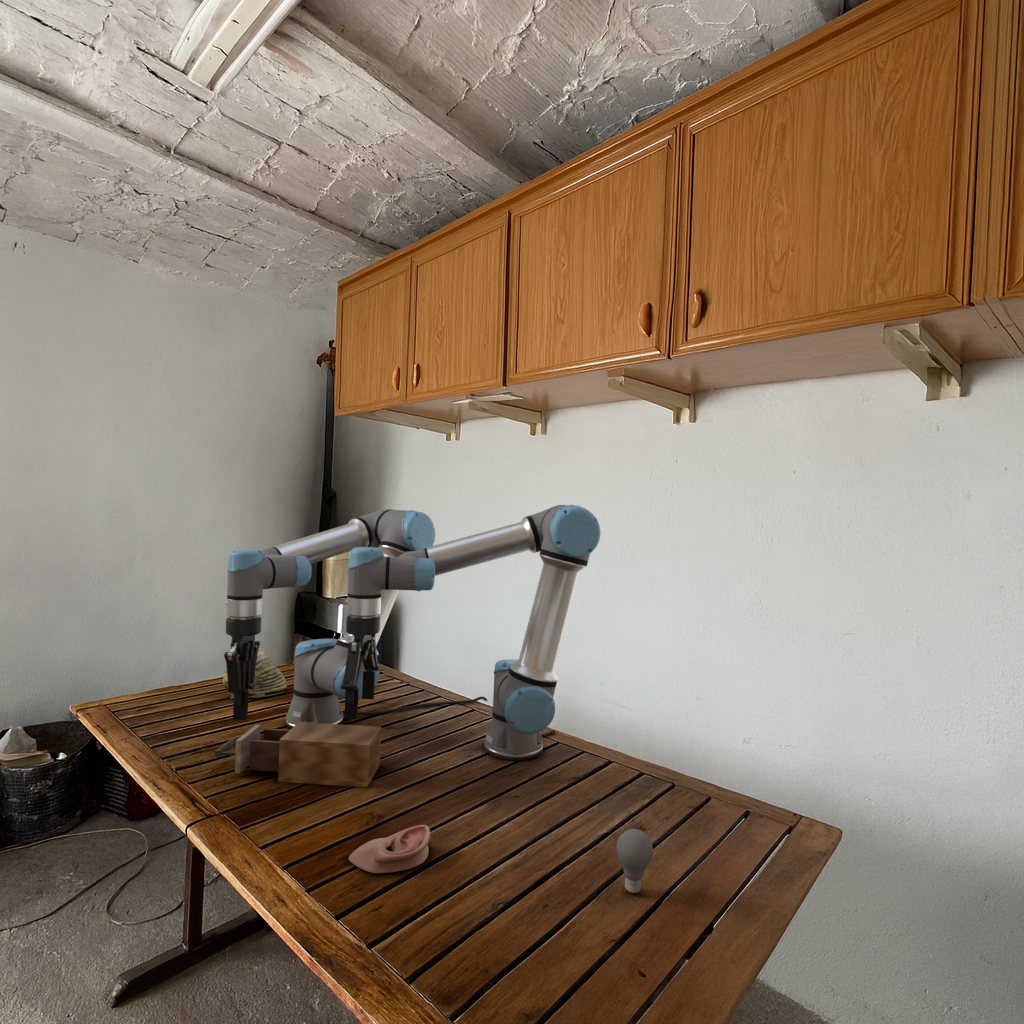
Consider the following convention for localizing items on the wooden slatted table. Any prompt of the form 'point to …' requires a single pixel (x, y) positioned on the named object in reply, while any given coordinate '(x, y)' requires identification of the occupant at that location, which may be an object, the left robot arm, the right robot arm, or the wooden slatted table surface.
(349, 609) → the right robot arm
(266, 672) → the fossil
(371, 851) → the anatomical model
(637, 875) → the light bulb
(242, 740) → the drawer
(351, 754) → the cabinet
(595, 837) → the wooden slatted table surface
